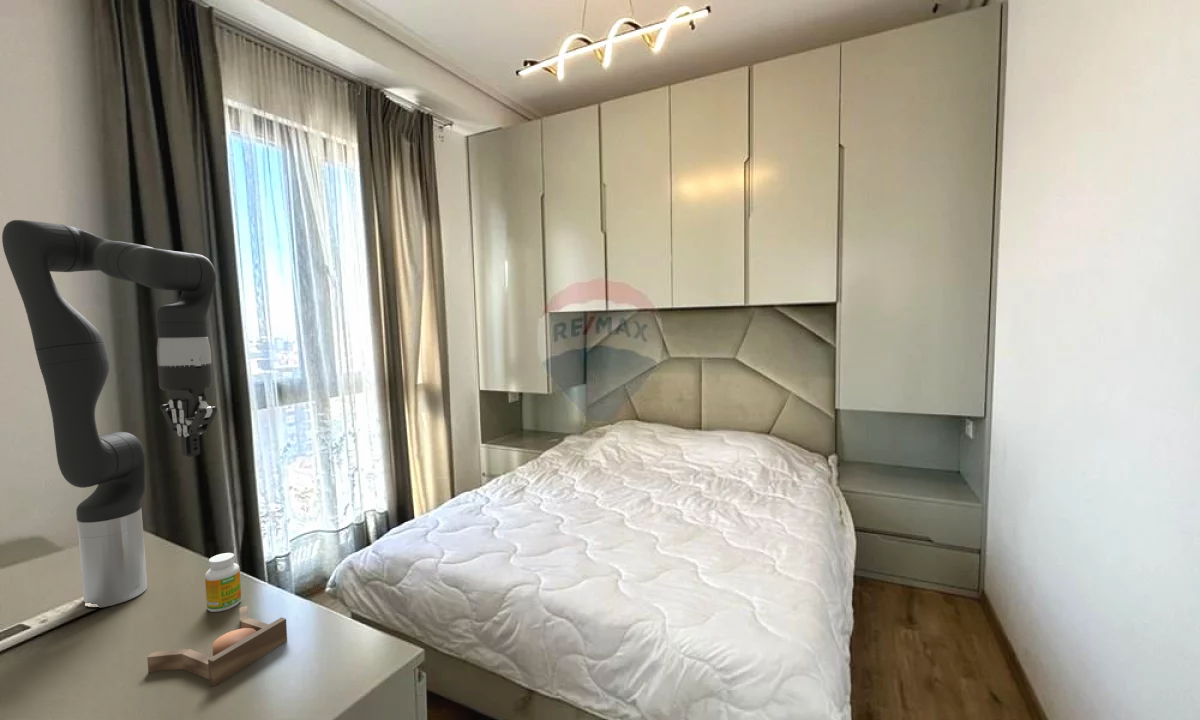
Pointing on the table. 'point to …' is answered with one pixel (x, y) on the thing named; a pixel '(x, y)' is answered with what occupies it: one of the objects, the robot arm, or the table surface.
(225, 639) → the salmon orange rounded piece
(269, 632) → the dock
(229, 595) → the supplement bottle
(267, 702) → the table surface
